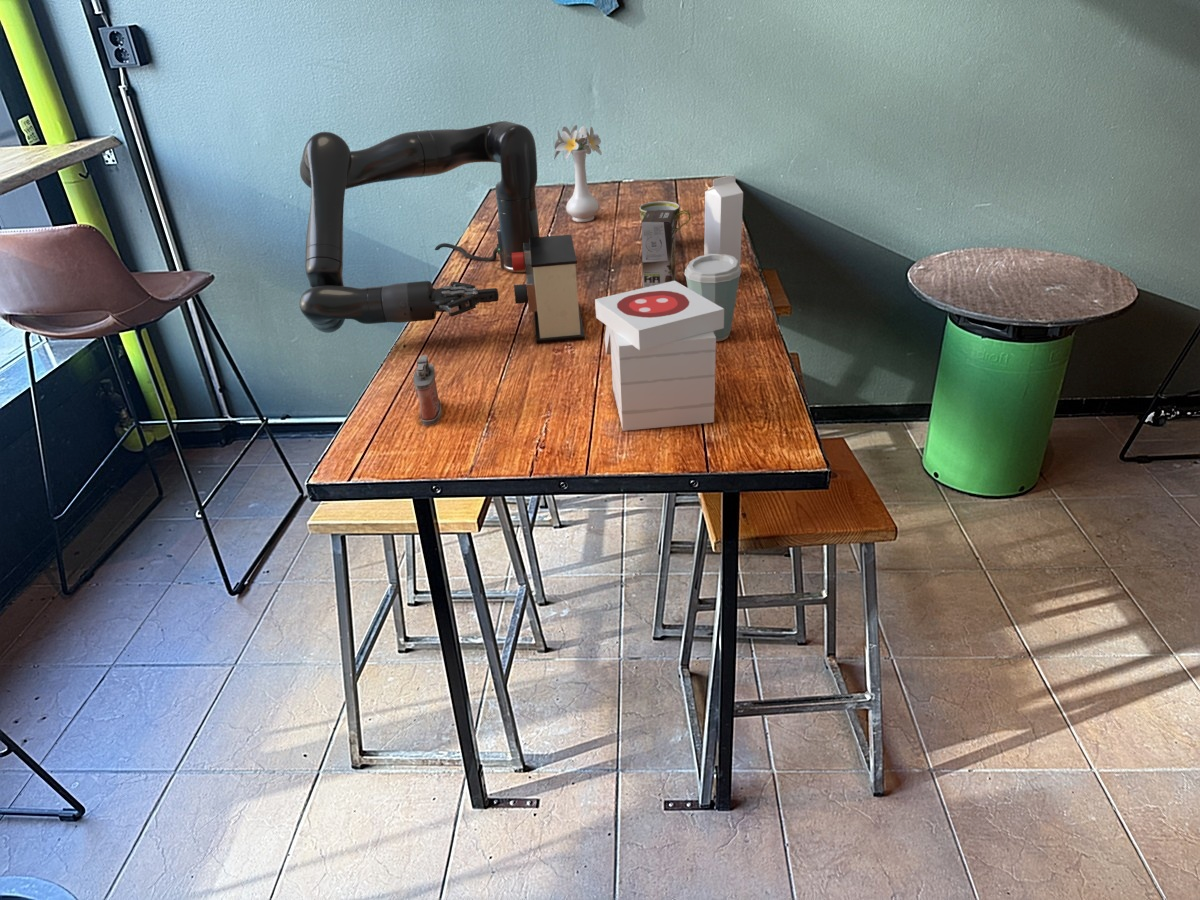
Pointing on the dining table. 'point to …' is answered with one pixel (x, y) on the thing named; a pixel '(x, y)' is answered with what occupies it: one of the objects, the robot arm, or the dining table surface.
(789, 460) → the dining table surface
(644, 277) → the coffee box
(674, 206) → the ceramic cup
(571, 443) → the dining table surface
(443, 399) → the dining table surface
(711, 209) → the milk
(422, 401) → the lighter
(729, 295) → the disposable coffee cup
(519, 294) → the black button
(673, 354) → the pizza boxes
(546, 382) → the dining table surface
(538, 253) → the control box
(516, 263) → the red button
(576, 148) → the flower vase
